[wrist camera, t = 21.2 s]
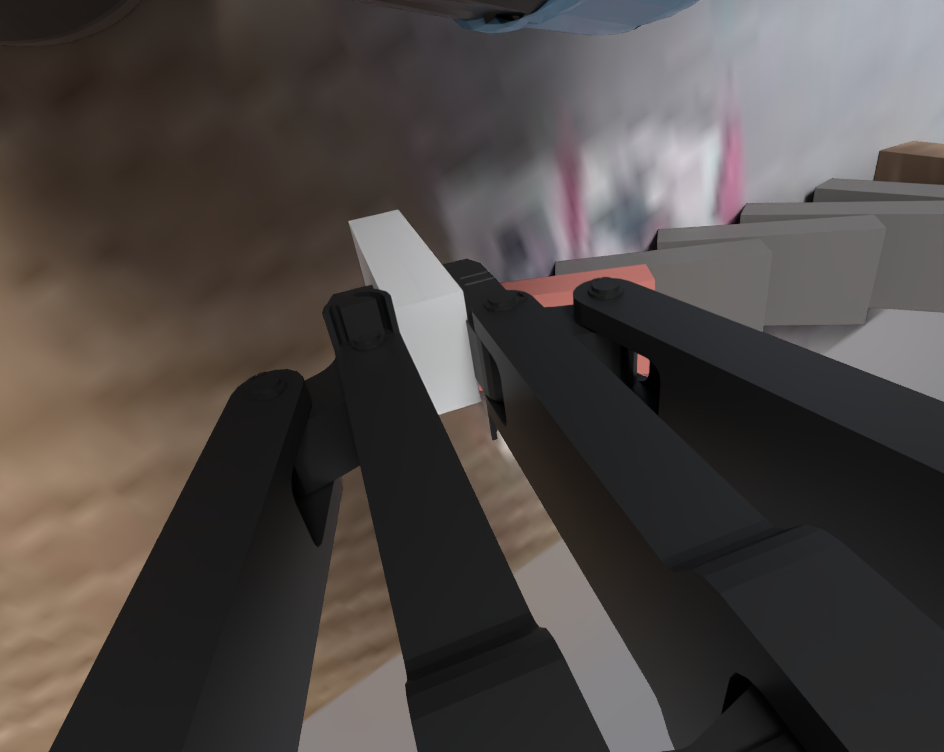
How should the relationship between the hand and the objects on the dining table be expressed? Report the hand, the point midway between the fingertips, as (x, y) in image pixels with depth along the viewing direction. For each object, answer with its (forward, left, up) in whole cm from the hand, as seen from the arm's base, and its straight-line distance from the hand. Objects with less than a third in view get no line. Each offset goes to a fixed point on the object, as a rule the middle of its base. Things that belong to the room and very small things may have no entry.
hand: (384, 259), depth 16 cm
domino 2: (+19, -11, -14) cm, 25 cm away
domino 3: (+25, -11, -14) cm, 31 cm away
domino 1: (+11, -11, -13) cm, 21 cm away
